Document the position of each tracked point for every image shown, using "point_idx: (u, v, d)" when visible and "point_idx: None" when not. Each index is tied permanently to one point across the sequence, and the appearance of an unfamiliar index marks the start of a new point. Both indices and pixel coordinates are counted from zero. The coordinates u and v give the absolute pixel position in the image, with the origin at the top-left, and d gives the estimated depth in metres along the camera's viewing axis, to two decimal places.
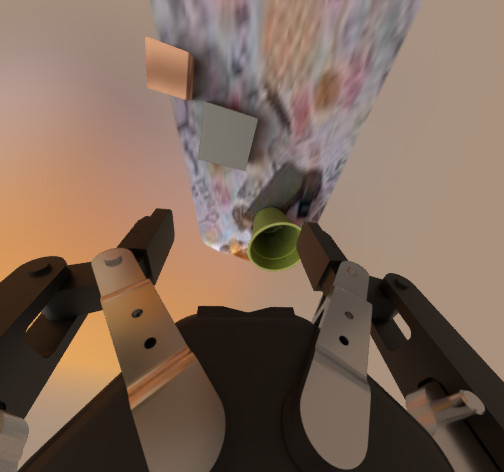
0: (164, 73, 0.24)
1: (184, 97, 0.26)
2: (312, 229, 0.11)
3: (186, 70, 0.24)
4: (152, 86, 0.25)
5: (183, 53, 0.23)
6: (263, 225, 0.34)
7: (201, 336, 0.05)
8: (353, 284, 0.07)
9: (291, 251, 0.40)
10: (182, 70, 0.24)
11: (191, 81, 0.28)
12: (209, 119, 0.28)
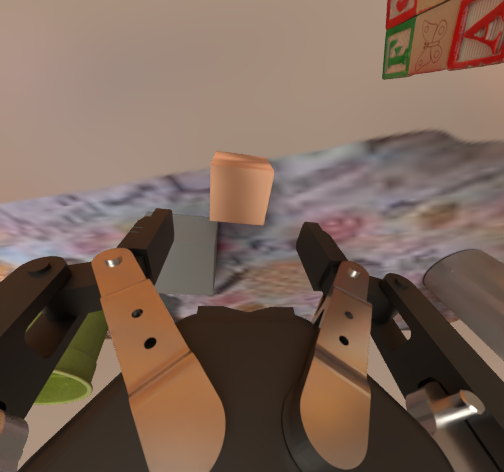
0: (235, 193, 0.16)
1: (212, 219, 0.17)
2: (312, 229, 0.11)
3: (244, 222, 0.17)
4: (214, 174, 0.15)
5: (261, 219, 0.17)
6: None
7: (201, 336, 0.05)
8: (353, 284, 0.07)
9: None
10: (243, 217, 0.17)
11: None
12: (194, 250, 0.19)
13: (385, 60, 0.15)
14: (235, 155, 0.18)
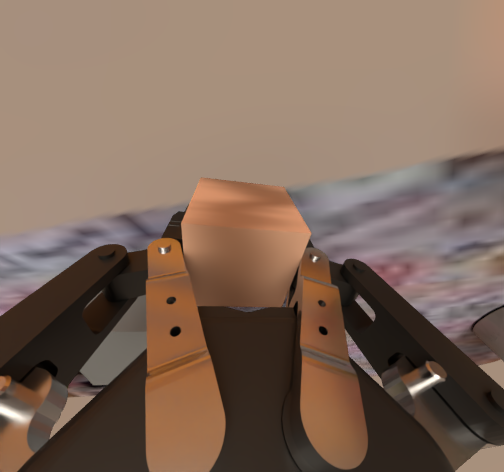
0: (233, 268, 0.08)
1: None
2: None
3: (249, 305, 0.10)
4: (190, 239, 0.07)
5: (279, 301, 0.10)
6: None
7: None
8: (310, 267, 0.08)
9: None
10: (247, 299, 0.10)
11: None
12: None
13: None
14: (233, 187, 0.10)
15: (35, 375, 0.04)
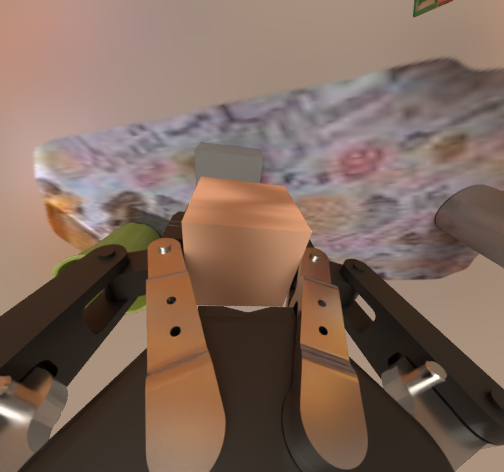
0: (233, 267, 0.08)
1: None
2: None
3: (250, 304, 0.10)
4: (191, 238, 0.07)
5: (279, 300, 0.10)
6: None
7: None
8: (310, 267, 0.08)
9: None
10: (247, 298, 0.10)
11: None
12: (246, 165, 0.22)
13: None
14: (233, 186, 0.10)
15: (35, 375, 0.04)
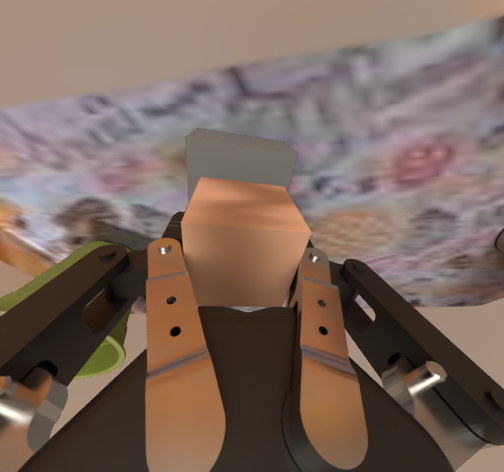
0: (233, 267, 0.08)
1: None
2: None
3: (249, 304, 0.10)
4: (190, 239, 0.07)
5: (279, 300, 0.10)
6: None
7: None
8: (310, 267, 0.08)
9: None
10: (247, 299, 0.10)
11: None
12: (270, 164, 0.14)
13: None
14: (233, 186, 0.10)
15: (35, 375, 0.04)
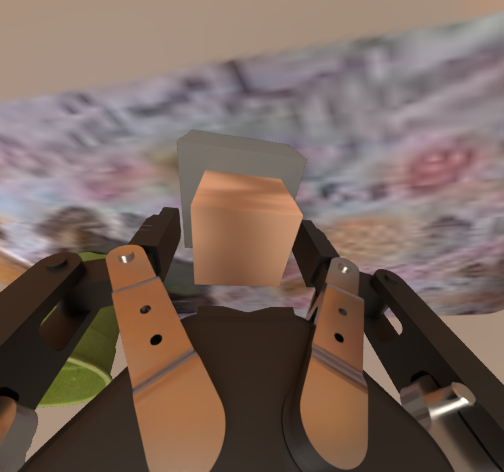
0: (235, 248, 0.09)
1: (198, 282, 0.11)
2: (305, 226, 0.11)
3: (249, 284, 0.11)
4: (198, 220, 0.08)
5: (276, 280, 0.11)
6: None
7: (201, 336, 0.05)
8: (343, 279, 0.07)
9: None
10: (247, 278, 0.11)
11: None
12: (274, 171, 0.12)
13: None
14: (234, 178, 0.11)
15: None
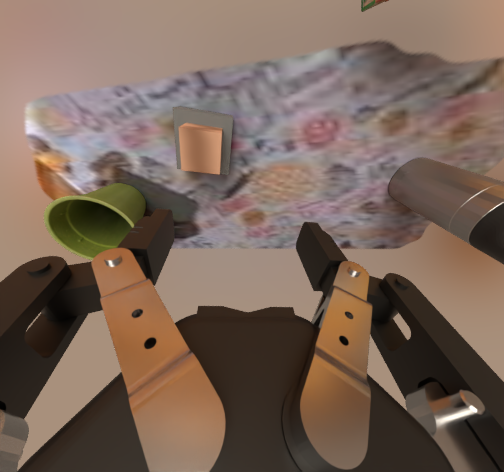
0: (197, 149, 0.23)
1: (183, 168, 0.25)
2: (312, 229, 0.11)
3: (206, 172, 0.25)
4: (181, 134, 0.22)
5: (217, 169, 0.25)
6: (119, 206, 0.27)
7: (201, 336, 0.05)
8: (353, 284, 0.07)
9: (98, 242, 0.32)
10: (204, 168, 0.25)
11: None
12: (219, 124, 0.26)
13: None
14: (199, 125, 0.25)
15: None
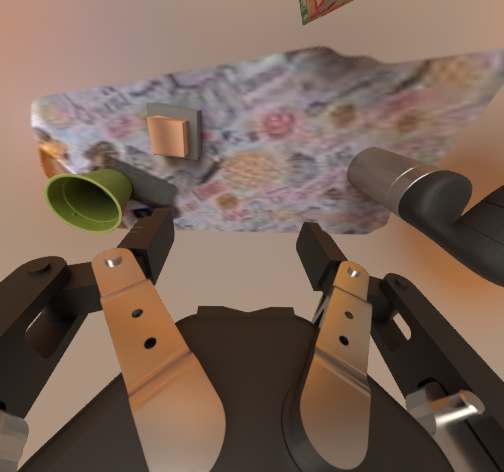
0: (163, 135, 0.29)
1: (153, 152, 0.30)
2: (312, 229, 0.11)
3: (172, 155, 0.31)
4: (149, 123, 0.28)
5: (182, 153, 0.31)
6: (105, 184, 0.33)
7: (201, 336, 0.05)
8: (353, 284, 0.07)
9: (89, 218, 0.38)
10: (171, 151, 0.30)
11: None
12: (185, 116, 0.32)
13: (301, 14, 0.29)
14: (168, 117, 0.31)
15: None
